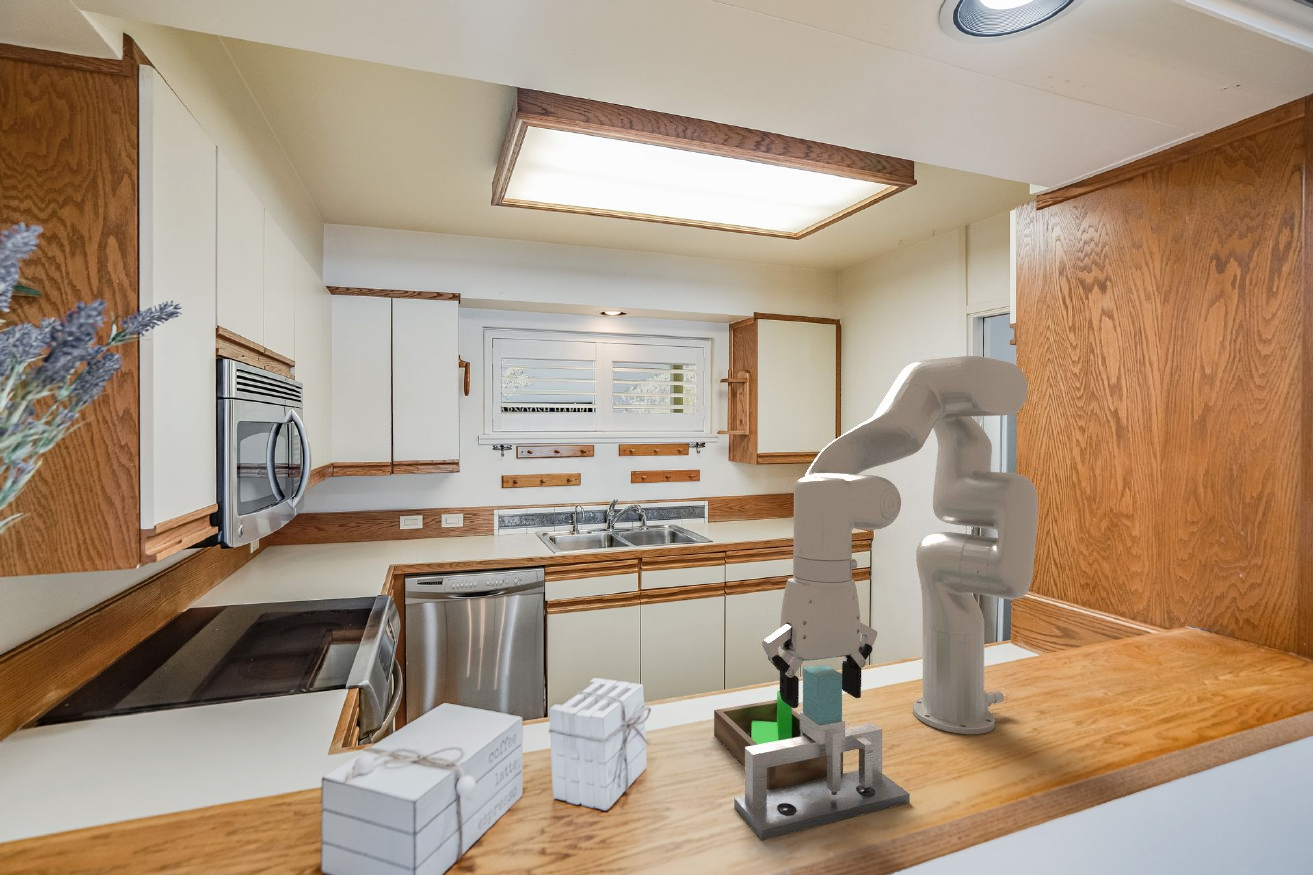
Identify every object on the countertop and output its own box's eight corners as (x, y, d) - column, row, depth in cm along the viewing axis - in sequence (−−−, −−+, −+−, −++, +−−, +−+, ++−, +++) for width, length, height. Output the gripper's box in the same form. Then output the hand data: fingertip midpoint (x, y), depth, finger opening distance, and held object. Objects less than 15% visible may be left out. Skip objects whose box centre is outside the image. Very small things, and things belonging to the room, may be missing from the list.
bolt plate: (873, 775, 87) (873, 765, 87) (909, 802, 80) (909, 792, 80) (734, 806, 79) (734, 796, 79) (761, 840, 72) (761, 829, 72)
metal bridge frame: (872, 780, 85) (872, 722, 85) (893, 796, 81) (893, 735, 82) (744, 809, 78) (745, 747, 78) (761, 828, 75) (761, 762, 75)
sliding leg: (824, 771, 84) (824, 663, 84) (849, 792, 79) (849, 677, 79) (799, 777, 83) (800, 667, 83) (823, 798, 78) (823, 681, 78)
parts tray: (778, 723, 103) (778, 699, 103) (843, 775, 87) (843, 746, 87) (714, 734, 98) (714, 709, 98) (768, 791, 82) (769, 761, 83)
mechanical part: (751, 732, 99) (752, 683, 99) (789, 735, 98) (790, 685, 98) (751, 772, 87) (751, 715, 87) (794, 776, 86) (794, 719, 86)
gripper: (857, 561, 88) (856, 680, 88) (750, 568, 82) (749, 696, 82) (894, 571, 81) (893, 701, 81) (780, 579, 75) (779, 720, 75)
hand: (821, 698), depth 81 cm, fingers open, 9 cm apart
